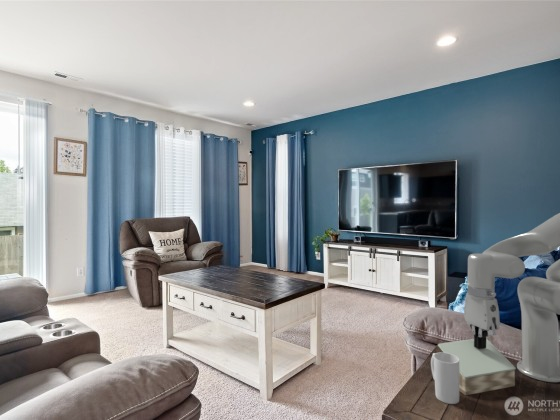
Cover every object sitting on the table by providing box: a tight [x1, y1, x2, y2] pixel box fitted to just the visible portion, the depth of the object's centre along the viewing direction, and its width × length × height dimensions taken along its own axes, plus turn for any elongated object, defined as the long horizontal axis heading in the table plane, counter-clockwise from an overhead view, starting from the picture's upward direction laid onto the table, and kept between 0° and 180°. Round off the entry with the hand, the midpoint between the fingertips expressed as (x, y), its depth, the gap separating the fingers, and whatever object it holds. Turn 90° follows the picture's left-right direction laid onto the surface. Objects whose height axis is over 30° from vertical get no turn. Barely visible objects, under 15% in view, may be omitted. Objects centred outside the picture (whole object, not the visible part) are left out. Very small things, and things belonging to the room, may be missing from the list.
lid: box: [437, 337, 517, 379], centre depth 103 cm, size 18×12×1 cm
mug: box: [430, 351, 460, 405], centre depth 97 cm, size 10×7×12 cm, turn 12°
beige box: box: [459, 370, 516, 396], centre depth 104 cm, size 18×13×5 cm
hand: (480, 347), depth 106 cm, fingers closed
